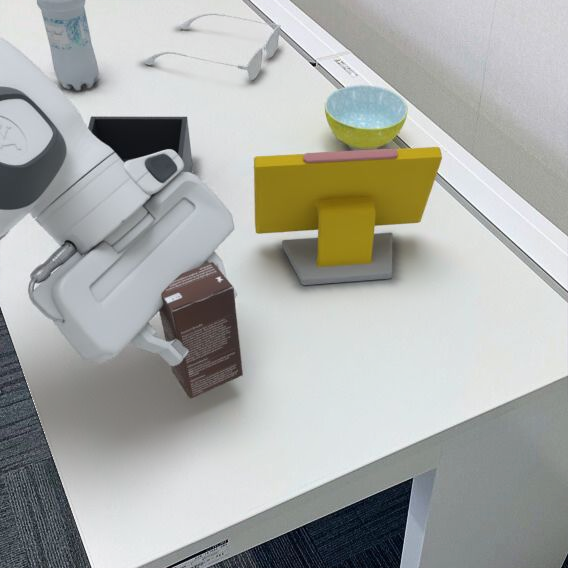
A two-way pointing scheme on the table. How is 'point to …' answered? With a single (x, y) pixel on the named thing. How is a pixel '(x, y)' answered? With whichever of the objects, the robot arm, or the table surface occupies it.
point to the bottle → (70, 42)
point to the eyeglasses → (255, 60)
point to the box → (203, 328)
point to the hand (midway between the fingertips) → (206, 329)
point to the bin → (144, 136)
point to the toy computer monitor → (342, 207)
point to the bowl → (365, 115)
